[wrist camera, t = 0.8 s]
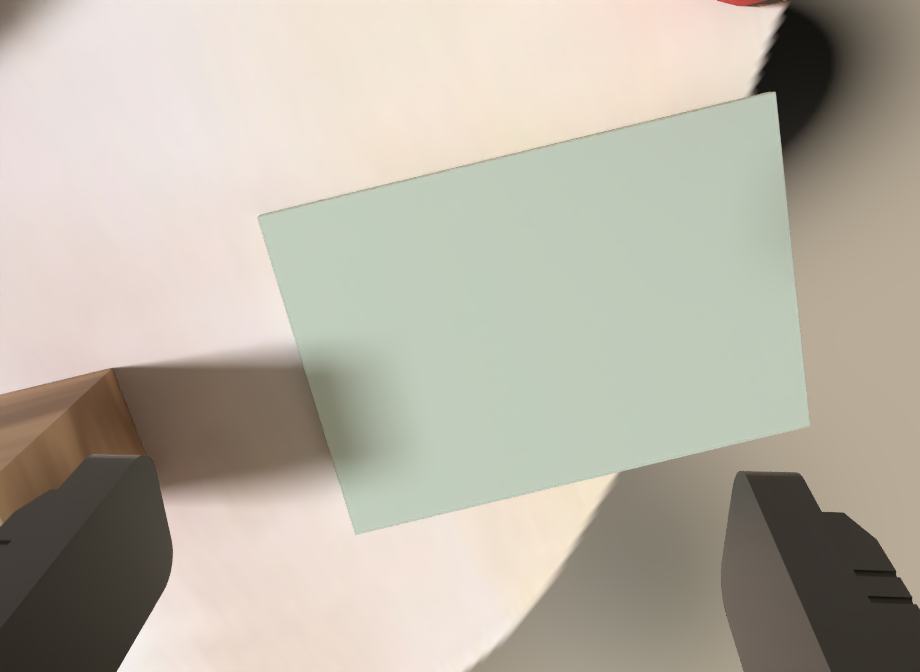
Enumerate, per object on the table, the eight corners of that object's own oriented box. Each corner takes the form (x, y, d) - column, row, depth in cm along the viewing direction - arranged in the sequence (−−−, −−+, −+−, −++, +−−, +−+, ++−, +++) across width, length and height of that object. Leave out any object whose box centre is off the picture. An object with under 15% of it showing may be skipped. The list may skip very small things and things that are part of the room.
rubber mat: (260, 214, 30) (257, 217, 30) (768, 91, 30) (775, 91, 30) (356, 527, 34) (355, 535, 34) (803, 420, 34) (810, 426, 34)
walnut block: (-9, 397, 32) (-215, 546, 21) (112, 367, 32) (-34, 502, 21) (39, 504, 33) (-132, 693, 23) (154, 477, 33) (37, 653, 23)
